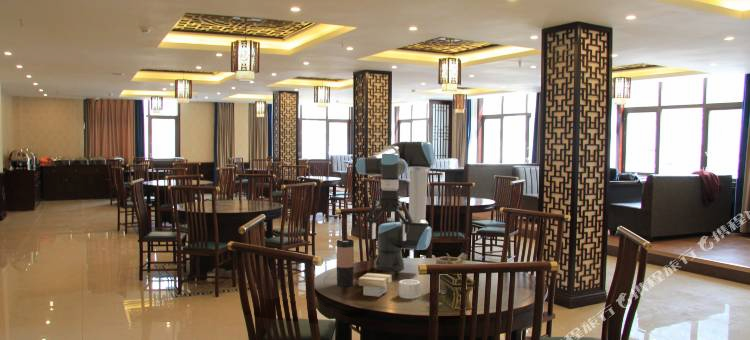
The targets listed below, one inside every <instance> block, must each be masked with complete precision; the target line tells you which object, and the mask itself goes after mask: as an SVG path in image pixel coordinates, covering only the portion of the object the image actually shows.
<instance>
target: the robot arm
mask: <svg viewBox="0 0 750 340" xmlns="http://www.w3.org/2000/svg"><path fill="white" fill-rule="evenodd" d="M435 157H436V156H435V150H434V146H433V144H432V143H431V142H429V141H428V142H427V141H399V142H394V143H392V144H390V145H387V146H385V147H383V149H382V150H381V151H379V152H376V153H375V154H373V155H371V156H369V157H358V158H357V159H356V162H355V169H356V173H357V174H358V175H363V176H364V175H372V176H373V175H374V176H376V175H378V176H380V189H381V190H380V201H379V200H378V199H376V200H373V202H372V206H371V208H370V211H369V213H368V215H367V216H366V219H365V222H367V223H369V231H371V240H374V239H376V233H377V231H378V233H377V236H378V237H377V242H378V243H377V245H378V246H377V248H378V250H377V251H378V252H377V253H378V254H377V256H376V259H375V261H374V269H375V270H378V271H382V272H399V271H400V272H401V271H403V270H404V269H405V262H404V259H403V256H402V255H403V254H402V249H403V250H415V251H421V250H422V251H423V250H425V251H426V250H427V249H428V248H429V246H430V243H431V241H432V230H433V229H432V227H431V226H429V222H428V221H427V220H426V218H427V217H426V215H427V213H426V212H427V189H428V172H429V171H430V170H431V168H432V167H431V166H434V164H435V159H436V158H435ZM407 169H408V170H409V174H410V175H409V197H408V208H407V203H406V201H399V190H398V189H399V188H400V187H399V176H401V175H403V174H405V173H406V172H407ZM378 206H380V208H379V210H378V211H377V212H376V209H377V208H378ZM399 206H400V207H401V209H402V211H403V212H404V214H403V213H402V212H401V211H400V209H399ZM375 212H376V213H375ZM384 212H390V213H393V212H394V213H395V214H396V216H397V217H399V219H400V220H401V221H396V222H395V221H394V222H393V221H392V222H391V221H390V222H386V223H381V224H380V225H379V226H378V230H377V231H376V229H377V223H376V220H378V219H379V217H380V216H381V215H382V214H383V213H384ZM374 213H375V215H374ZM373 215H374V216H373ZM404 215H405V216H404Z"/></svg>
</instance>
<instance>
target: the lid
mask: <svg viewBox="0 0 750 340" xmlns="http://www.w3.org/2000/svg"><path fill="white" fill-rule="evenodd" d="M392 276H393V275H392V274H387V273H375V272H374V273H373V272H367V273H365V274H363V275H362V276H360V277H359V278H358V286H360V287H363V286H370V287H380V288H384V287H385V286H387V287H388V286H389V285H390V284H391V283H392V282H393V280H392V279H393V277H392Z"/></svg>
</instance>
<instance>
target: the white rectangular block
mask: <svg viewBox="0 0 750 340" xmlns="http://www.w3.org/2000/svg"><path fill="white" fill-rule="evenodd" d="M362 287H363V296H370V297H379V298H380V297H381V296H383V294H385V293H386V292H387V291H388V290H387V289H388V285H387V286H385V287H384V288H380V287H370V286H362Z"/></svg>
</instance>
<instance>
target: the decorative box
mask: <svg viewBox="0 0 750 340" xmlns="http://www.w3.org/2000/svg"><path fill="white" fill-rule="evenodd" d="M446 256H447V257H448V261H447V264H450V263H451V259H450V257H451V255H450V254H448V253H447V252H446ZM467 259H468V254H466V257H465V258H463V259H462V260H461V261H460V262H459V263H457V264H461V262H462V263H463V262H464V261H465V260H467ZM452 264H456V263H455V262H452ZM466 276H467V289H466V309H465V310H470V309H472V308H471V305H472V304H471V301H470V293H471V291H472V290H473V289H474V288H473V281H474V280H473V279H472V278H471V277H469V276H468V275H466ZM440 280H441V281H442V282H443V284H444V286H445V295H443V298H442V299H441V301H442V300H443V301H444V302H445V303H446V304H445V303H444V302H443V301H442V302H443V303H444V304H445V305H446V306H448V305H449V306H450V307H451V308H450V307H449V306H448V307H449V308H450V309H452V310H454V309H459V308H460V295H461V275H460V274H448V275H440ZM459 310H460V309H459Z"/></svg>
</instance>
